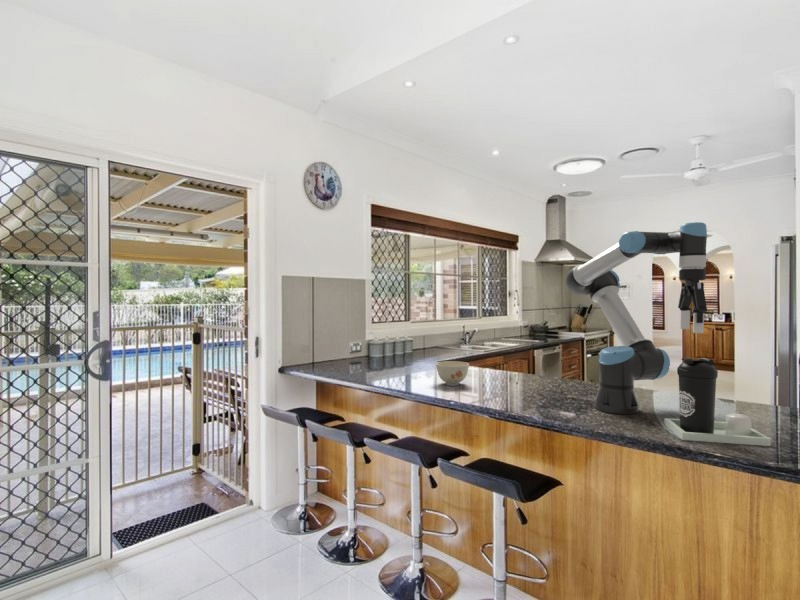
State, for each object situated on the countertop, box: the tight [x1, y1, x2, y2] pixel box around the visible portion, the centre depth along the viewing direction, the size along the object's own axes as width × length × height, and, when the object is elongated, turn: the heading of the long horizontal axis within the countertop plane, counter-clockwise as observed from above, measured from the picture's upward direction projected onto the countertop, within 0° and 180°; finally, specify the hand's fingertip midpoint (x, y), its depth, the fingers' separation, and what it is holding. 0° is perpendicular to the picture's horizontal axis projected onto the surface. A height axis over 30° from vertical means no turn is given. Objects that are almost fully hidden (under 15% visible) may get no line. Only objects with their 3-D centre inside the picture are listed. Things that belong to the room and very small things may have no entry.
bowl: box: [435, 360, 470, 387], centre depth 206 cm, size 16×16×10 cm
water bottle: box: [676, 357, 719, 434], centre depth 131 cm, size 10×10×23 cm
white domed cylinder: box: [725, 413, 752, 436], centre depth 128 cm, size 6×6×6 cm
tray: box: [663, 417, 772, 447], centre depth 130 cm, size 22×15×3 cm
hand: (691, 330), depth 145 cm, fingers open, 13 cm apart
